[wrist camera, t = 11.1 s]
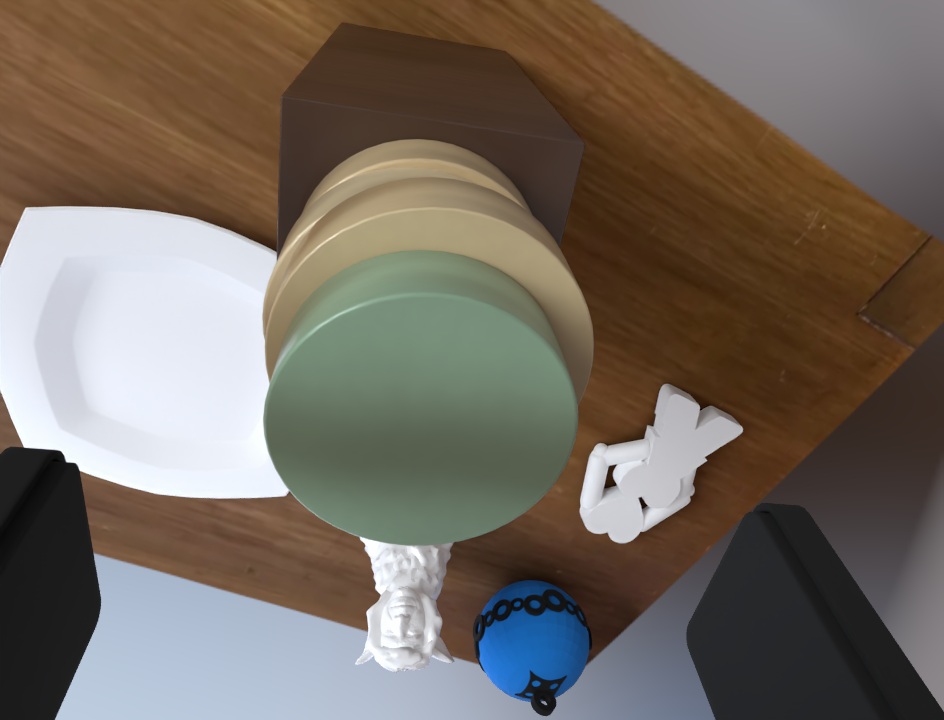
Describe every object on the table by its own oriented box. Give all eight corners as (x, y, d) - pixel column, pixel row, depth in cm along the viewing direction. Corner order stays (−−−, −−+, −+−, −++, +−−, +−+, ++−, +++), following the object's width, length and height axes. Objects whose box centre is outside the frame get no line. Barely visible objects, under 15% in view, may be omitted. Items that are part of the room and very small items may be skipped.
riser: (341, 22, 33) (280, 95, 17) (506, 51, 34) (585, 143, 18) (330, 187, 37) (273, 364, 21) (478, 207, 38) (524, 389, 22)
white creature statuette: (469, 453, 47) (486, 596, 37) (482, 542, 51) (500, 692, 41) (330, 472, 47) (309, 621, 36) (355, 559, 51) (342, 714, 41)
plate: (3, 152, 34) (-18, 163, 33) (380, 254, 39) (378, 268, 37) (6, 445, 44) (-10, 466, 42) (311, 501, 48) (307, 522, 46)
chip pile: (292, 109, 17) (243, 179, 12) (572, 153, 19) (634, 233, 13) (283, 357, 21) (244, 489, 16) (517, 381, 22) (549, 512, 17)
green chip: (283, 229, 13) (264, 273, 11) (590, 268, 14) (615, 315, 12) (275, 473, 16) (260, 538, 14) (528, 493, 17) (541, 555, 15)
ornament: (595, 565, 54) (630, 683, 45) (551, 635, 58) (576, 755, 49) (492, 545, 51) (508, 665, 43) (454, 618, 56) (463, 741, 47)
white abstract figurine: (549, 504, 49) (556, 524, 47) (646, 369, 45) (659, 384, 43) (645, 543, 52) (655, 563, 50) (744, 419, 48) (760, 436, 46)
